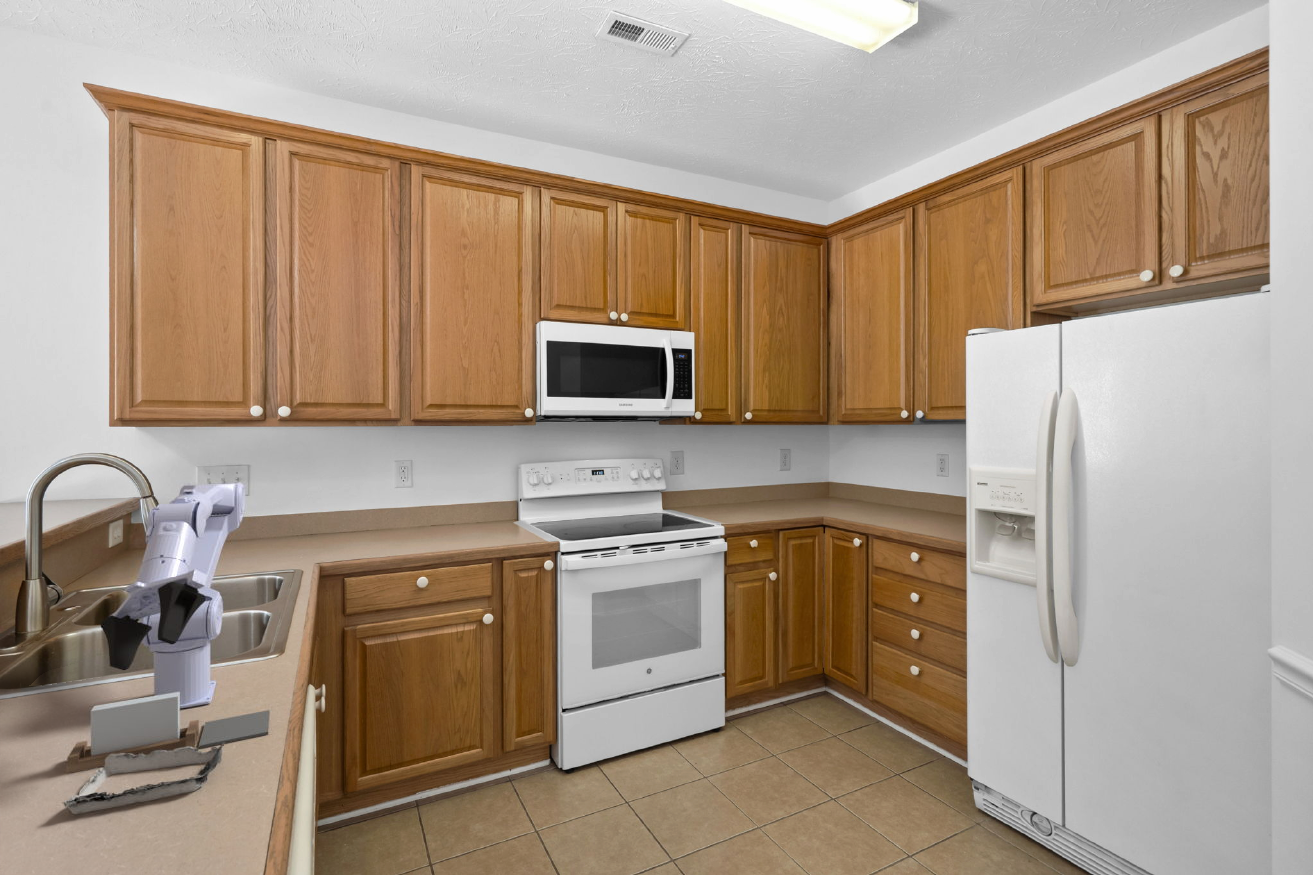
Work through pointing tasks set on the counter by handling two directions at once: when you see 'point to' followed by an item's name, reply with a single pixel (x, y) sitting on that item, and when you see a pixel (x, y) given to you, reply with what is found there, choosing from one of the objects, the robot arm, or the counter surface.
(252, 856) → the counter surface
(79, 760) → the rack
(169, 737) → the board
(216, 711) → the counter surface
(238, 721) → the mat
